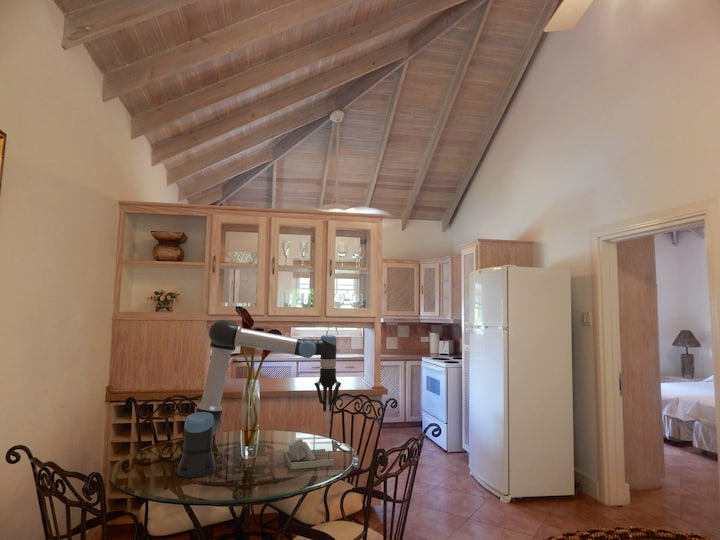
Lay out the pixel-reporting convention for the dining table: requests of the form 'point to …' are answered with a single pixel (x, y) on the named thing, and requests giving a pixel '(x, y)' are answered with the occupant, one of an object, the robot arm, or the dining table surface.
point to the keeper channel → (308, 463)
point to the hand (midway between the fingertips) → (327, 418)
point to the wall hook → (300, 450)
